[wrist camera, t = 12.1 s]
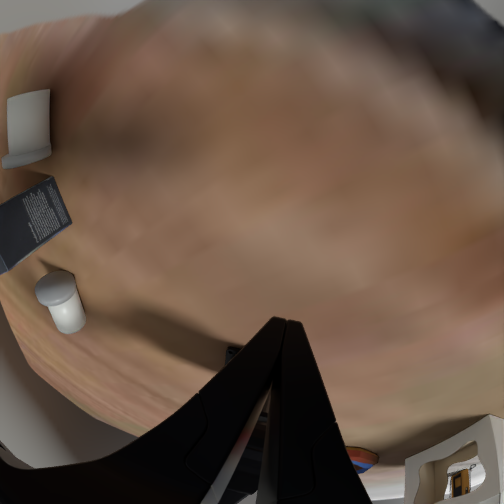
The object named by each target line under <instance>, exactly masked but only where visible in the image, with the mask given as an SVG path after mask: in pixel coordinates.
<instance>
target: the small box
mask: <svg viewBox="0 0 504 504" xmlns="http://www.w3.org/2000/svg"><path fill="white" fill-rule="evenodd" d="M71 224H72V220H71V218H70V216H69V214H68V211H67V209H66V207H65V204H64V202H63V200H62V197H61V195H60V192H59V190H58V187H57V185H56V182H55V179H54V177H53V176H51V177H49V178H47V179H46V180H44V181H42V182H40V183H38V184H36V185H35V186H33V187H31V188H29V189H27V190H25V191H23V192H22V193H20V194H18V195H16V196H14V197H13V198H11V199H9V200H8V201H6V202H4V203H2V204H1V205H0V275H1V274H3V273H6V272H8V271H9V270H11V269H12V268H13V267H15V266H16V265H18V264H19V263H20V262H22V261H23V260H24V259H25V258H27V257H28V256H29V255H31V254H32V253H33V252H34V251H36V250H37V249H38V248H40V247H41V246H42V245H44V244H45V243H46V242H48V241H49V240H50V239H52V238H53V237H55V236H56V235H57V234H59V233H60V232H61V231H63V230H64V229H65V228H67V227H68V226H69V225H71Z"/></svg>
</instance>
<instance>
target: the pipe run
mask: <svg viewBox="0 0 504 504" xmlns="http://www.w3.org/2000/svg"><path fill="white" fill-rule="evenodd" d="M7 131H8V148H9V153H8V154H6V155H5V156H3V157H2V167H3V169H11V168H16V167H20V166H24V165H27V164H30V163H34V162H36V161H39V160H42V159H44V158H46V157H48V156H50V155H51V154H52V150H51V144H50V89H44V90H38V91H33V92H28V93H24V94H20V95H17V96H14V97H11V98H8V99H7ZM35 294H36V296H37V299H38V301H39V302H40V303H41V304H42V305H45V306H48V308H49V311H50V313H51V315H52V318H53V320H54V322H55V324H56V326H57V328H58V330H59V331H60V332H62V333H65V334H72V333H75V332H77V331H79V330H80V329H82V328H83V326H84V325H85V323H86V315H85V312H84V309H83V307H82V304H81V301H80V298H79V294H78V291H77V288H76V283H75V279H74V276H73V275H72V274H71V273H69V272H67V271H54V272H51V273H49V274H47V275H45V276H43V277H42V278H41V279H40V280H39V281H38V282H37V284H36V286H35Z"/></svg>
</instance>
